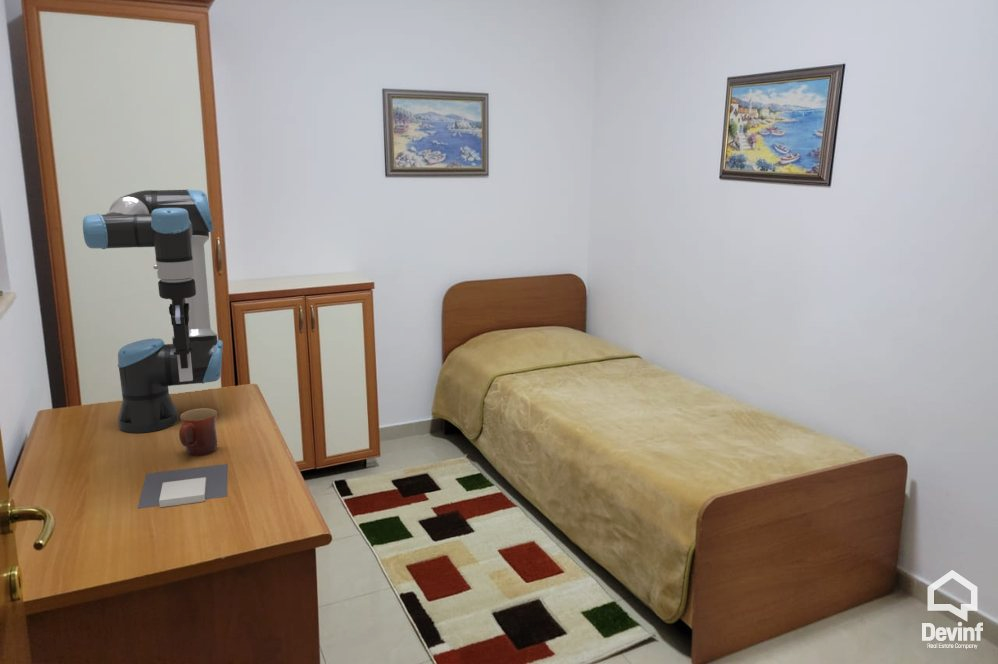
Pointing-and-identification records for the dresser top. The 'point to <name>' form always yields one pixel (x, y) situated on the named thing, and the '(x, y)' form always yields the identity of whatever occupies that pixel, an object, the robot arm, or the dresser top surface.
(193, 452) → the mug
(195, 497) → the tile
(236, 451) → the dresser top surface
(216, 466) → the mat
